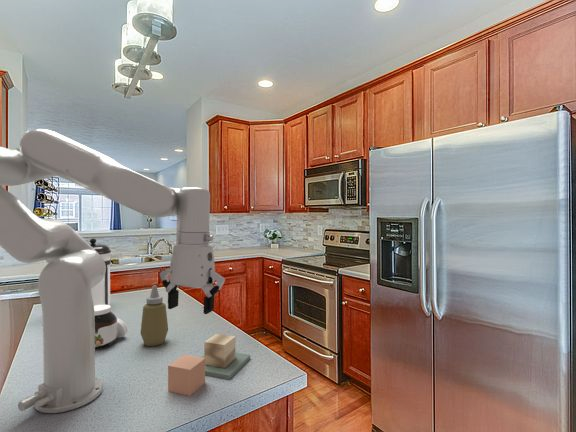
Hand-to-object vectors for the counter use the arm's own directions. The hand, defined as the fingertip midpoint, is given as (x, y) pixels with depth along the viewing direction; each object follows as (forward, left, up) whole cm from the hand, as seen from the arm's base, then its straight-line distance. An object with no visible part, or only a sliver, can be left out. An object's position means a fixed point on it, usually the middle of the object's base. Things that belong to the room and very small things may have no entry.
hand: (190, 310), depth 78 cm
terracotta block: (-2, 0, -18) cm, 18 cm away
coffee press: (+32, +71, -18) cm, 80 cm away
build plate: (+10, -2, -18) cm, 21 cm away
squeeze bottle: (+16, +25, -18) cm, 35 cm away
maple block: (+10, -2, -17) cm, 20 cm away
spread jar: (+11, +40, -18) cm, 45 cm away
